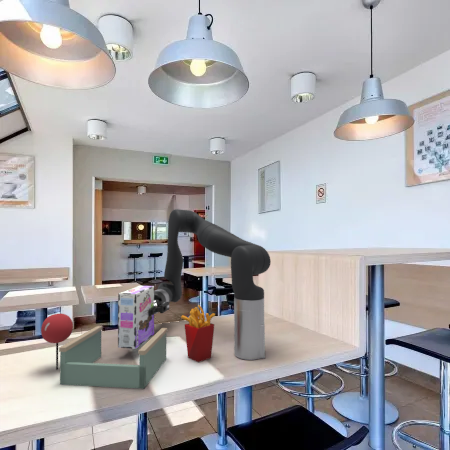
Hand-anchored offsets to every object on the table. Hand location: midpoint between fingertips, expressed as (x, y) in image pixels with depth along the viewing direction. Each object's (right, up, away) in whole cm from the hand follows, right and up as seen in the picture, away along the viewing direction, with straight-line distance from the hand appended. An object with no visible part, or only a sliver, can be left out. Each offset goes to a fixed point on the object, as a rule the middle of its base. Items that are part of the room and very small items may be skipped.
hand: (139, 312), depth 101 cm
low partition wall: (-2, -11, -16) cm, 20 cm away
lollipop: (-19, -11, -15) cm, 27 cm away
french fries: (+18, -12, -7) cm, 23 cm away
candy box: (0, -9, -2) cm, 9 cm away
